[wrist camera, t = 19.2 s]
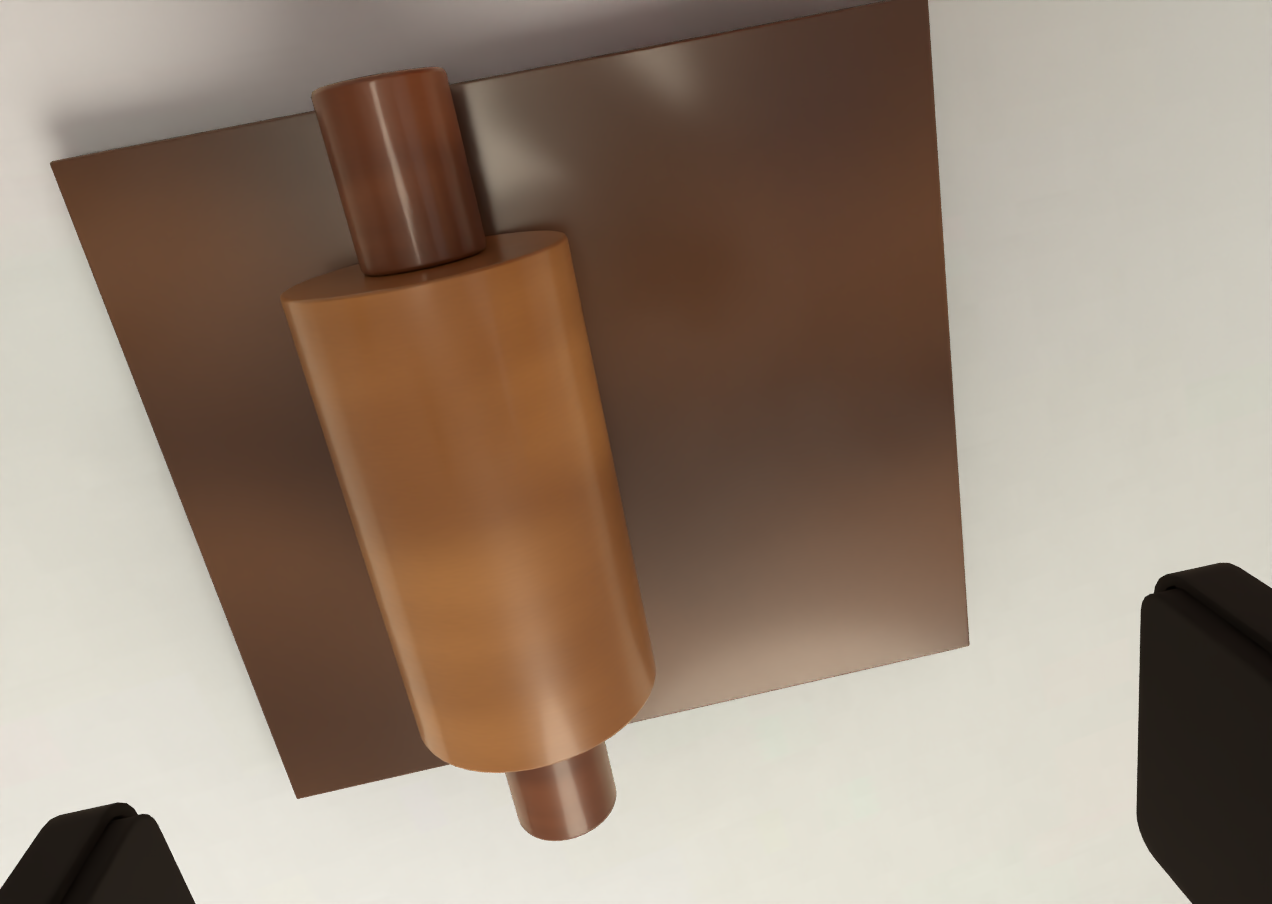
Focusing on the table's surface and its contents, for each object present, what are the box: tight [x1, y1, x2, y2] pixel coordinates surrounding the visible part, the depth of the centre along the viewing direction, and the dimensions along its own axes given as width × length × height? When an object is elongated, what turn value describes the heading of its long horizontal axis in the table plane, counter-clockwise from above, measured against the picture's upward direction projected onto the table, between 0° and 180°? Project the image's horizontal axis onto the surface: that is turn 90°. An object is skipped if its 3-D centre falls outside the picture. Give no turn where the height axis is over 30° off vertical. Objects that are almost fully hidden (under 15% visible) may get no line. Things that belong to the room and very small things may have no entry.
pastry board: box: [50, 0, 969, 799], centre depth 20 cm, size 15×17×1 cm
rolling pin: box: [280, 67, 656, 841], centre depth 18 cm, size 15×5×5 cm
